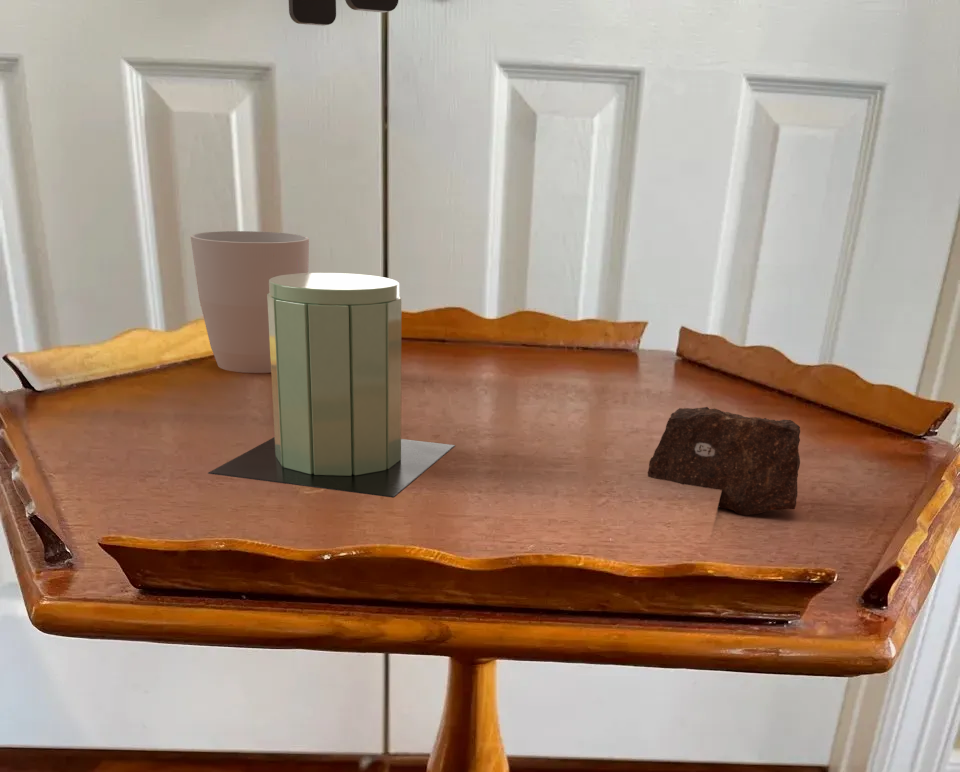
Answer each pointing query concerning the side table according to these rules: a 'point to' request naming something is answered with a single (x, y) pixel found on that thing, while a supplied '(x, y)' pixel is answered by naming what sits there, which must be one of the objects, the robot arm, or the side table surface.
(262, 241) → the cup
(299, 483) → the holder
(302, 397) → the tumbler
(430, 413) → the side table surface
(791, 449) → the stone
